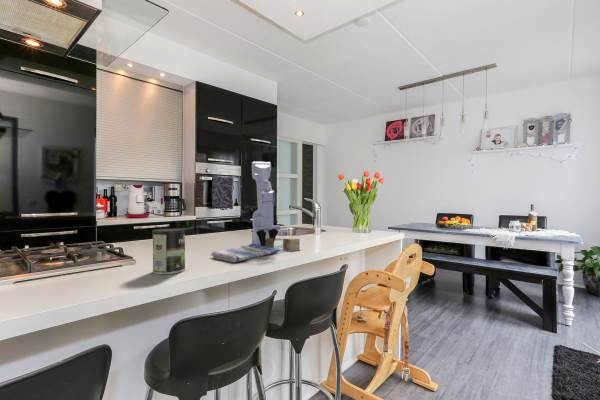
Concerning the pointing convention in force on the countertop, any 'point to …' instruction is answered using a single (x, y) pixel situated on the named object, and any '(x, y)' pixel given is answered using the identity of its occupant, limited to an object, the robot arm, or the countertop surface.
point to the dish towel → (243, 253)
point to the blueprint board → (282, 249)
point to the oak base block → (291, 243)
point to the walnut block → (269, 242)
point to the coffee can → (168, 250)
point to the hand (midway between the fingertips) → (267, 245)
